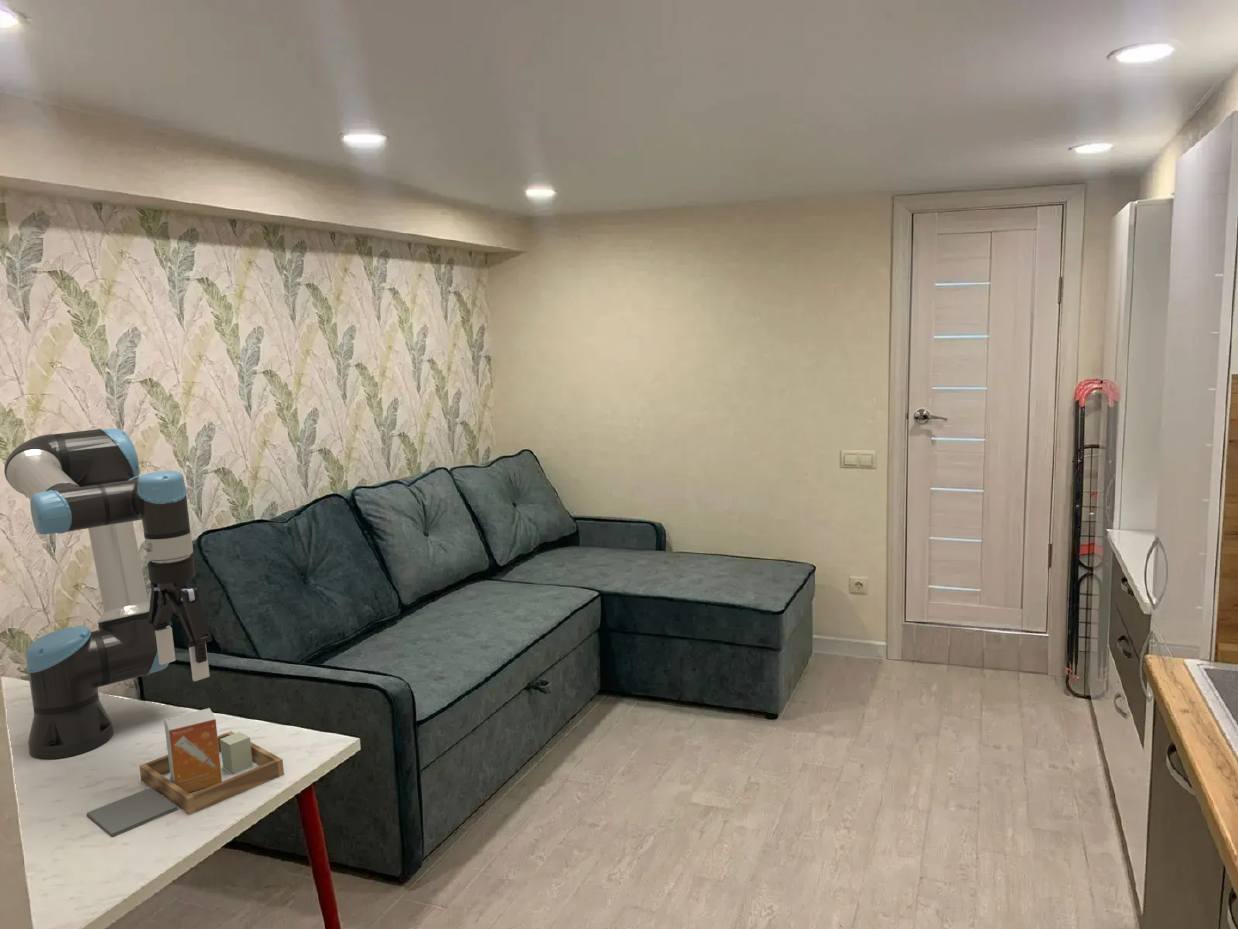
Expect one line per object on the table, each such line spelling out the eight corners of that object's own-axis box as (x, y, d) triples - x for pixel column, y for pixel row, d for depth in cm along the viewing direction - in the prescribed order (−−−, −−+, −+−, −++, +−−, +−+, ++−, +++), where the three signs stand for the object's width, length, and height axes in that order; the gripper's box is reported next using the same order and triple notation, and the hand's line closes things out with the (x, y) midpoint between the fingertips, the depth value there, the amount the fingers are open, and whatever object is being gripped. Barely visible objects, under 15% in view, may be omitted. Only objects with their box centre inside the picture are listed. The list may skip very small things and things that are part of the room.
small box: (176, 797, 169) (168, 730, 166) (170, 783, 174) (162, 718, 172) (223, 784, 173) (216, 718, 171) (217, 770, 178) (209, 707, 176)
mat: (87, 816, 163) (86, 812, 163) (151, 790, 171) (150, 787, 171) (112, 837, 156) (111, 834, 156) (177, 809, 164) (177, 806, 164)
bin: (141, 780, 175) (139, 765, 175) (232, 745, 189) (231, 731, 188) (189, 814, 162) (187, 798, 162) (283, 774, 176) (282, 759, 175)
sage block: (223, 768, 179) (219, 739, 178) (242, 760, 182) (239, 731, 181) (233, 774, 177) (229, 745, 176) (252, 766, 179) (249, 737, 179)
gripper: (120, 553, 171) (134, 662, 175) (180, 573, 155) (195, 693, 159) (161, 544, 177) (174, 650, 180) (224, 563, 161) (237, 679, 164)
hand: (184, 670), depth 170 cm, fingers open, 13 cm apart
